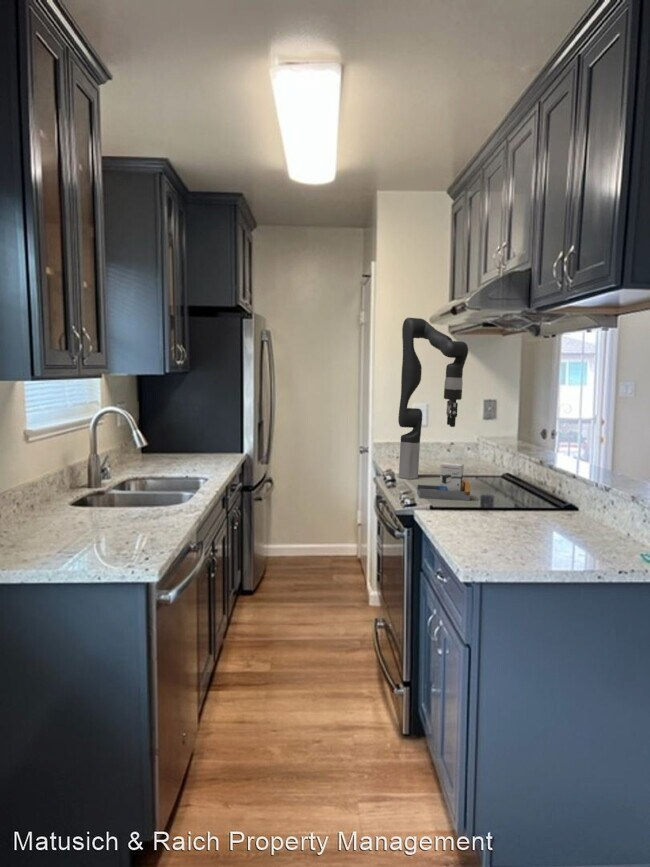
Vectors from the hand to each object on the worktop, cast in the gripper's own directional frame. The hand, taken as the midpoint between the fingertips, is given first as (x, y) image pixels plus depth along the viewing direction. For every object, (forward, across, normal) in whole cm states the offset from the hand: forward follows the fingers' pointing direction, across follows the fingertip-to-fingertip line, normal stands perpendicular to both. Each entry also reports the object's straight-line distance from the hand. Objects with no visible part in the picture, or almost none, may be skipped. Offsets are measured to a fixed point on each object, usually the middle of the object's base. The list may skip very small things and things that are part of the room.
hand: (450, 425), depth 258 cm
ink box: (+26, +16, -1) cm, 31 cm away
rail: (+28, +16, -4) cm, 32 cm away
